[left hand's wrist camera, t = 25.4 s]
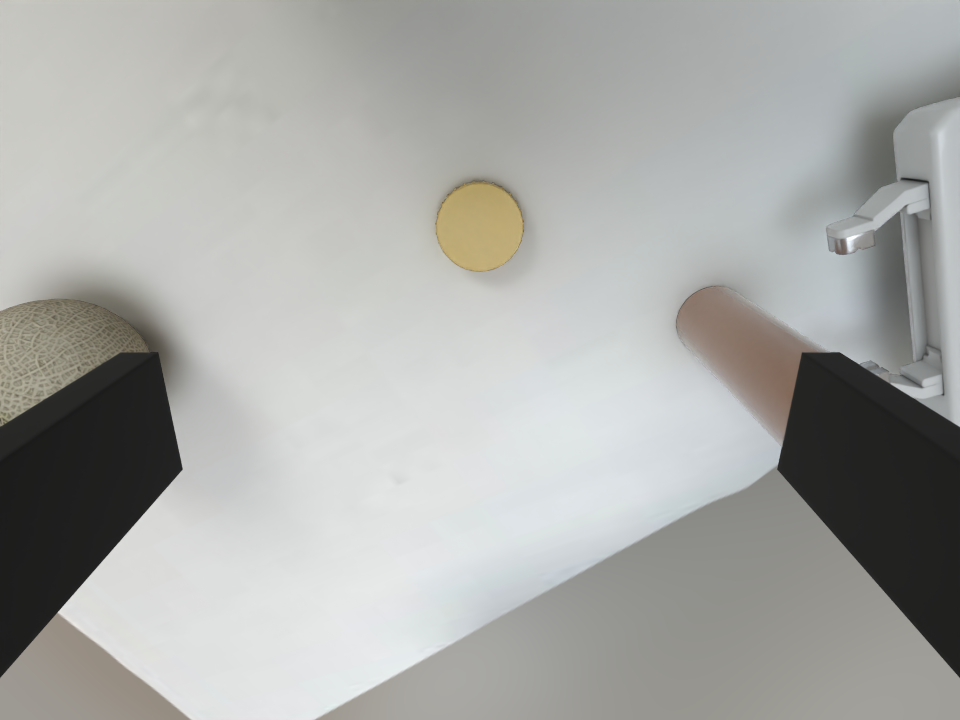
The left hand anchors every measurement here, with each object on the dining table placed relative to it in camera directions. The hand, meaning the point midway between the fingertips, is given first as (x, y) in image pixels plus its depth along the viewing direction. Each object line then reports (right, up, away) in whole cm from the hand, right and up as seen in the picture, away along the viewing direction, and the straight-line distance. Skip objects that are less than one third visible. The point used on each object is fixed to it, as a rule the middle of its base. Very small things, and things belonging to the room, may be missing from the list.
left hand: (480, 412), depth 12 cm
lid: (0, +10, +26) cm, 28 cm away
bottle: (+16, +4, +30) cm, 34 cm away
